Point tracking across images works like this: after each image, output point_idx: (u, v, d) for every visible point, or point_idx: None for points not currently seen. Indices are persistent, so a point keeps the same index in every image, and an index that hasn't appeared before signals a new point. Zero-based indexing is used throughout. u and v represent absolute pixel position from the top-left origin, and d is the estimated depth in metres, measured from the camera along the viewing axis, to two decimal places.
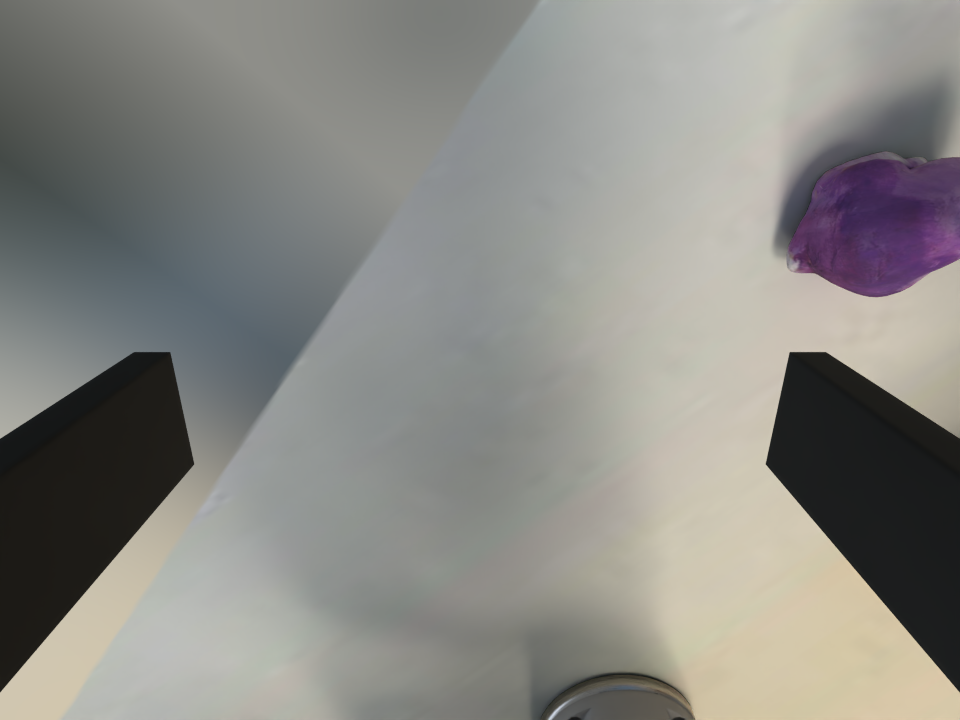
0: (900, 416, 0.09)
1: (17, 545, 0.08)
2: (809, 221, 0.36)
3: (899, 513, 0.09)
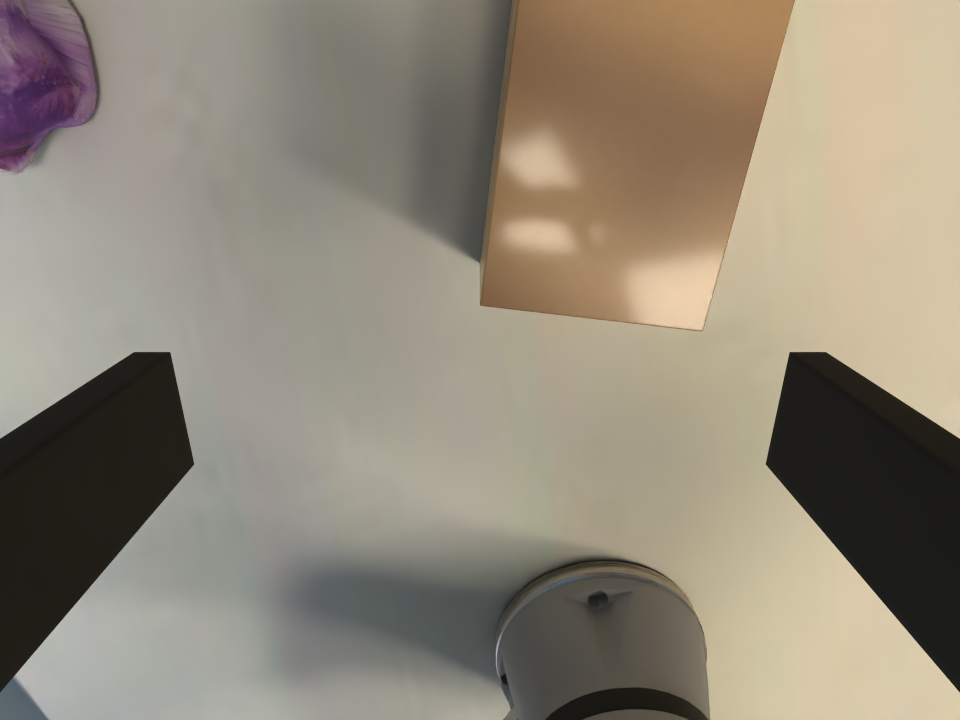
0: (900, 416, 0.09)
1: (17, 545, 0.08)
2: None
3: (900, 513, 0.09)
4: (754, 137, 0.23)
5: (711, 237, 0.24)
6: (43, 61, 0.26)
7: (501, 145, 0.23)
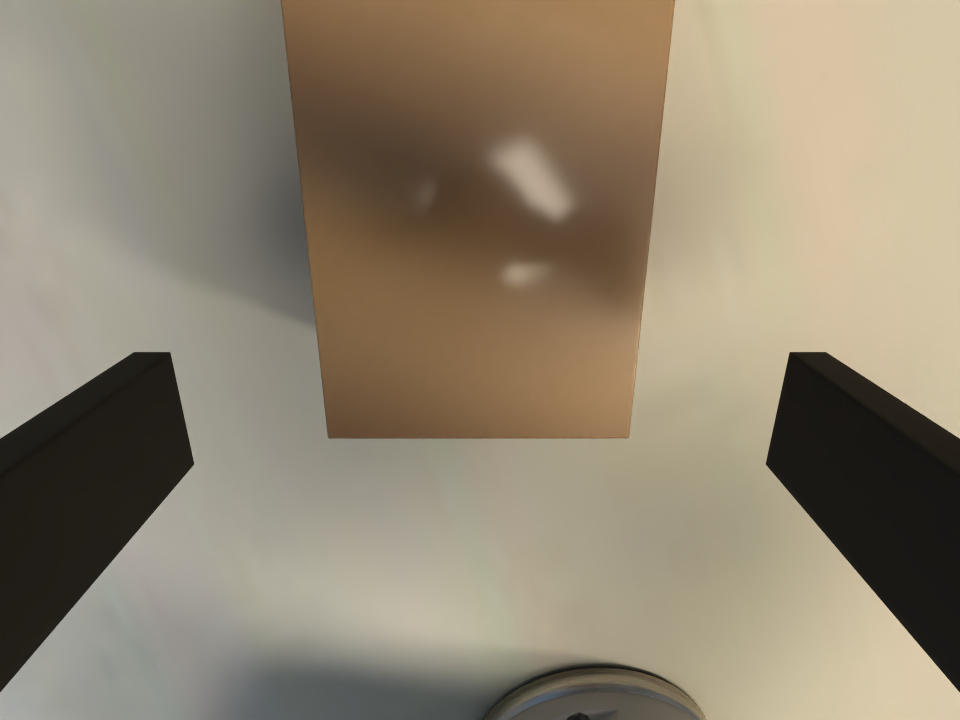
0: (900, 416, 0.09)
1: (17, 545, 0.08)
2: None
3: (900, 514, 0.09)
4: (652, 184, 0.16)
5: (617, 320, 0.18)
6: None
7: (307, 237, 0.17)
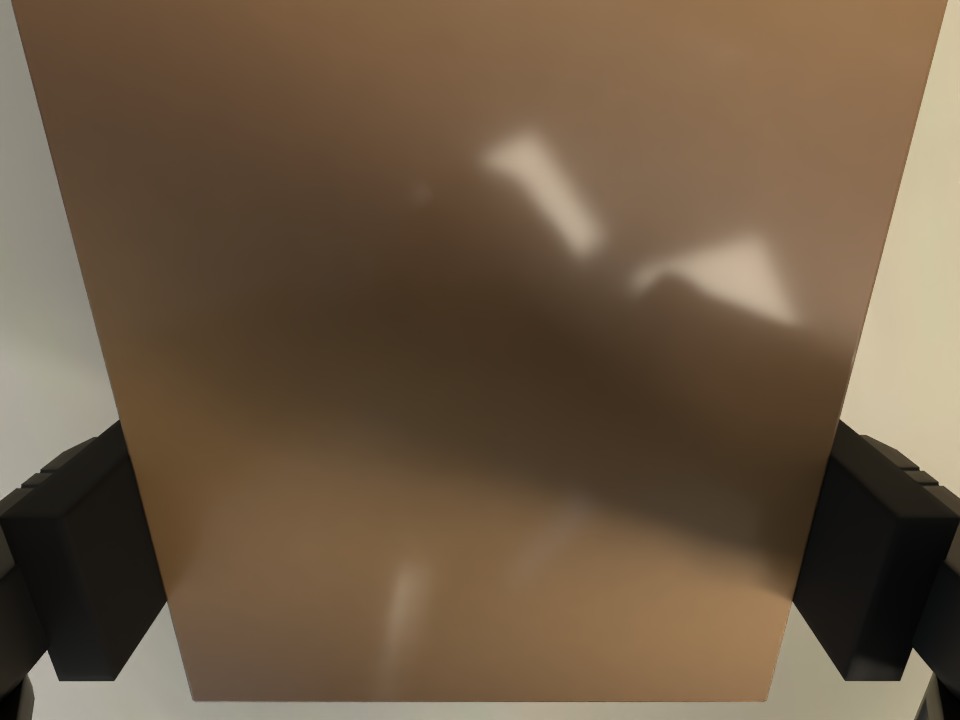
0: None
1: None
2: None
3: None
4: (881, 231, 0.07)
5: (768, 506, 0.09)
6: None
7: (102, 346, 0.08)
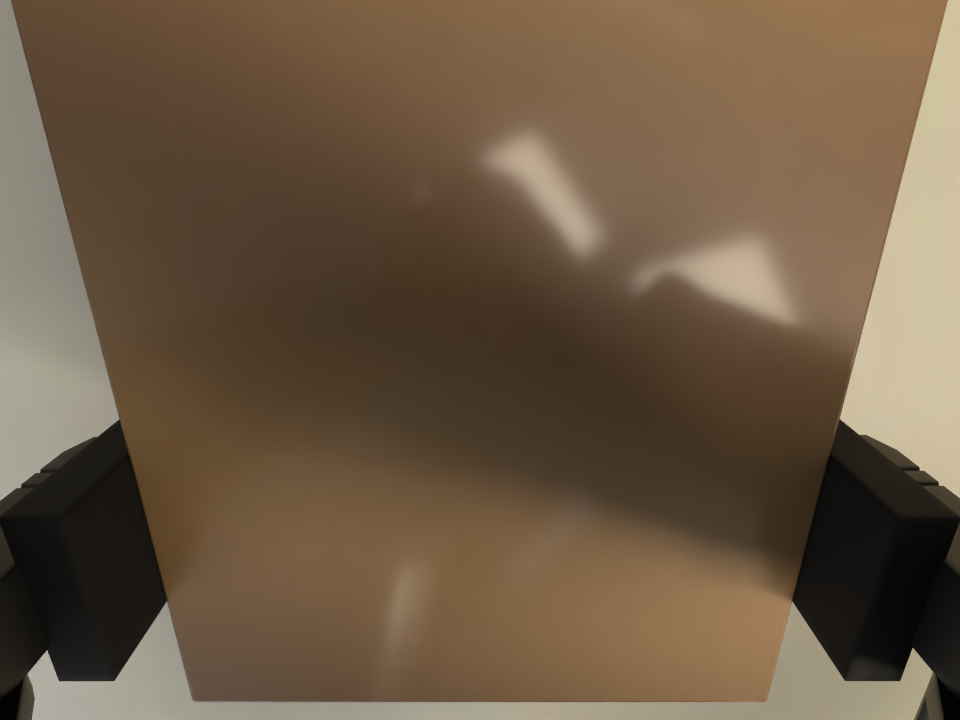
0: None
1: None
2: None
3: None
4: (881, 231, 0.07)
5: (768, 506, 0.09)
6: None
7: (101, 346, 0.08)
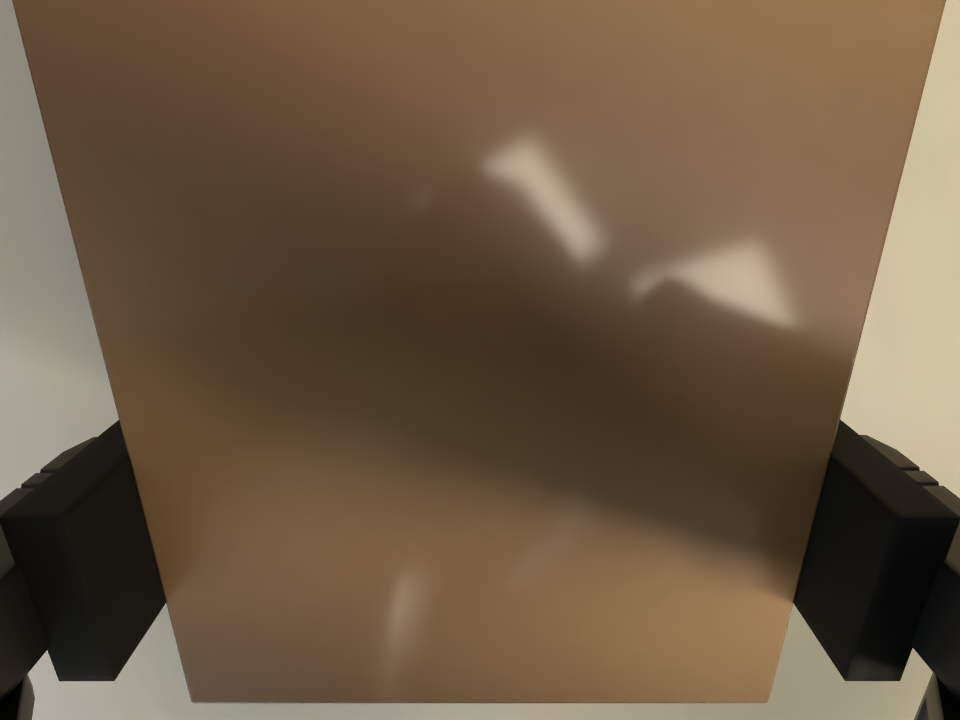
0: None
1: None
2: None
3: None
4: (882, 228, 0.07)
5: (769, 505, 0.08)
6: None
7: (101, 344, 0.08)
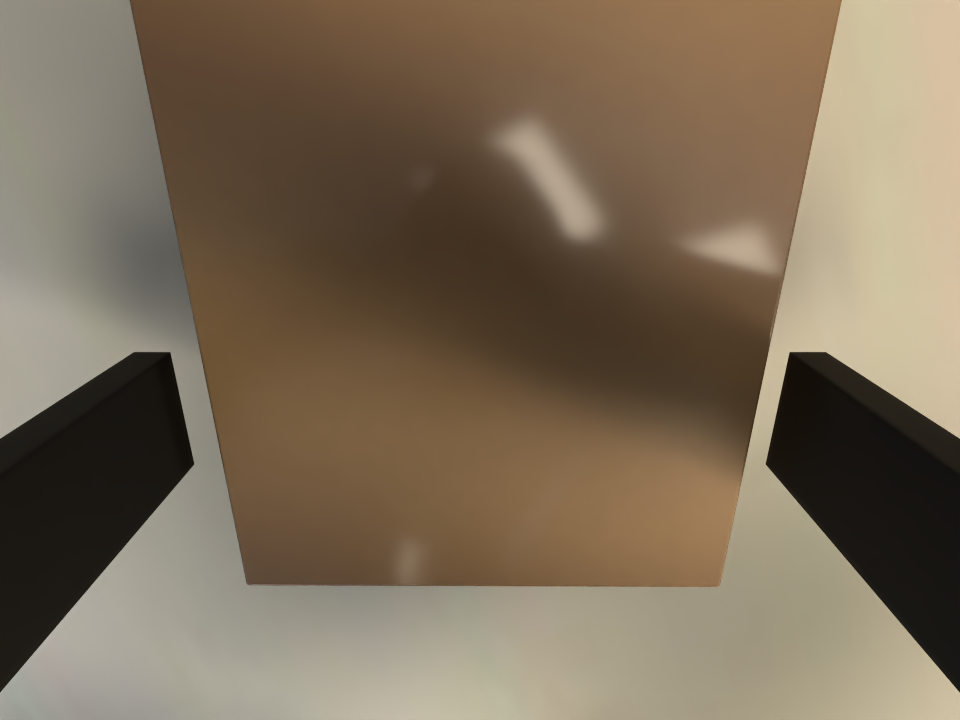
0: (900, 416, 0.09)
1: (17, 545, 0.08)
2: None
3: (900, 513, 0.09)
4: (797, 188, 0.09)
5: (716, 415, 0.11)
6: None
7: (187, 279, 0.10)
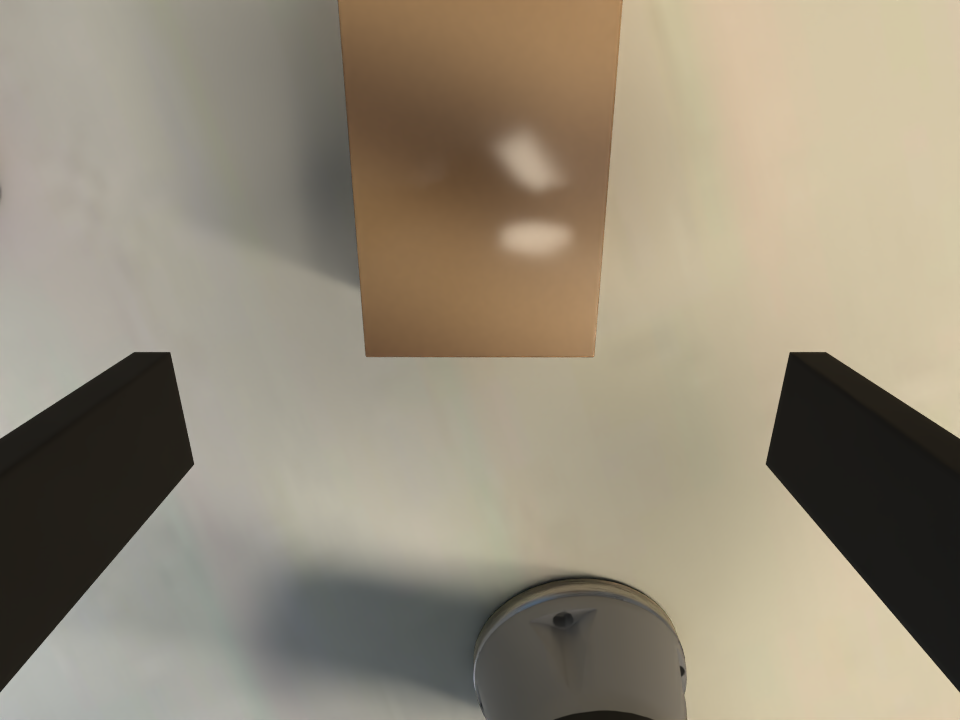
0: (900, 416, 0.09)
1: (17, 545, 0.08)
2: None
3: (900, 514, 0.09)
4: (607, 161, 0.22)
5: (583, 264, 0.24)
6: None
7: (354, 201, 0.23)
